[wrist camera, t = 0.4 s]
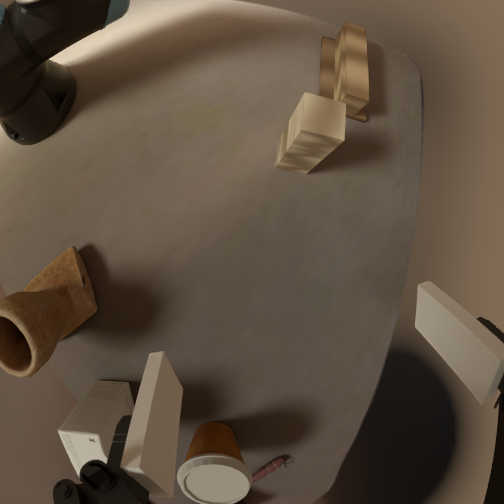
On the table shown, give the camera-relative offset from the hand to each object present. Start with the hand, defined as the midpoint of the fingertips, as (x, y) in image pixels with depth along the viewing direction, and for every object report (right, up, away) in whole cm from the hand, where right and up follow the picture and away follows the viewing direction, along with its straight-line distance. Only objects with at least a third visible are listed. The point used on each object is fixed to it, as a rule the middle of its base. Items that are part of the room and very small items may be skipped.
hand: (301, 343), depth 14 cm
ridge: (+13, +34, +28) cm, 46 cm away
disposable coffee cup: (-8, -24, +26) cm, 37 cm away
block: (+3, +18, +27) cm, 33 cm away
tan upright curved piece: (-30, -4, +24) cm, 39 cm away
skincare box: (-23, -19, +24) cm, 38 cm away
